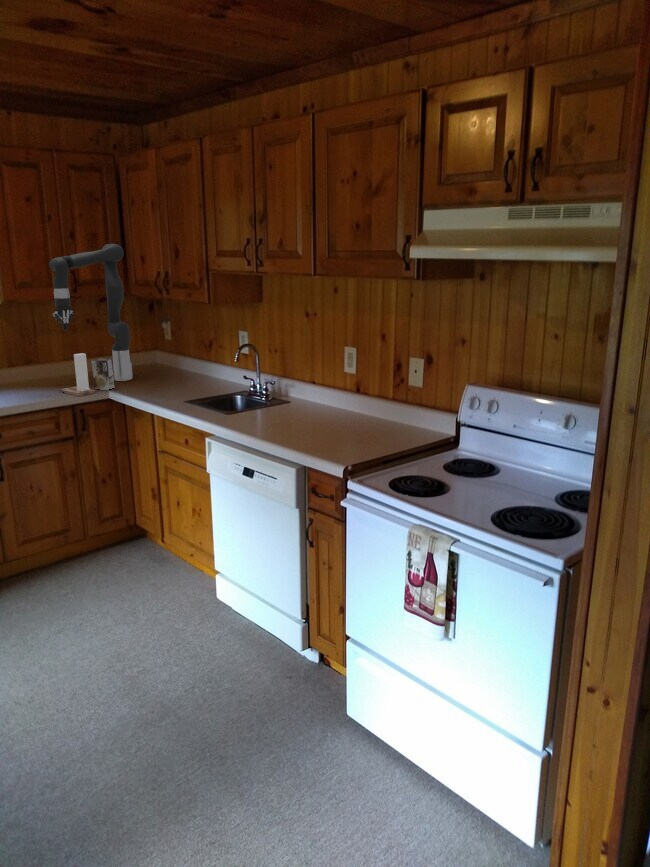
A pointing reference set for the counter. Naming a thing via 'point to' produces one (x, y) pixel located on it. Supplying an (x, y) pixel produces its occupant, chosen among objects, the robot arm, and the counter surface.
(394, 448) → the counter surface
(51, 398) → the counter surface
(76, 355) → the slider tab
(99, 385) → the coffee box
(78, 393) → the slider board
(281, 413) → the counter surface
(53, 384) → the counter surface
